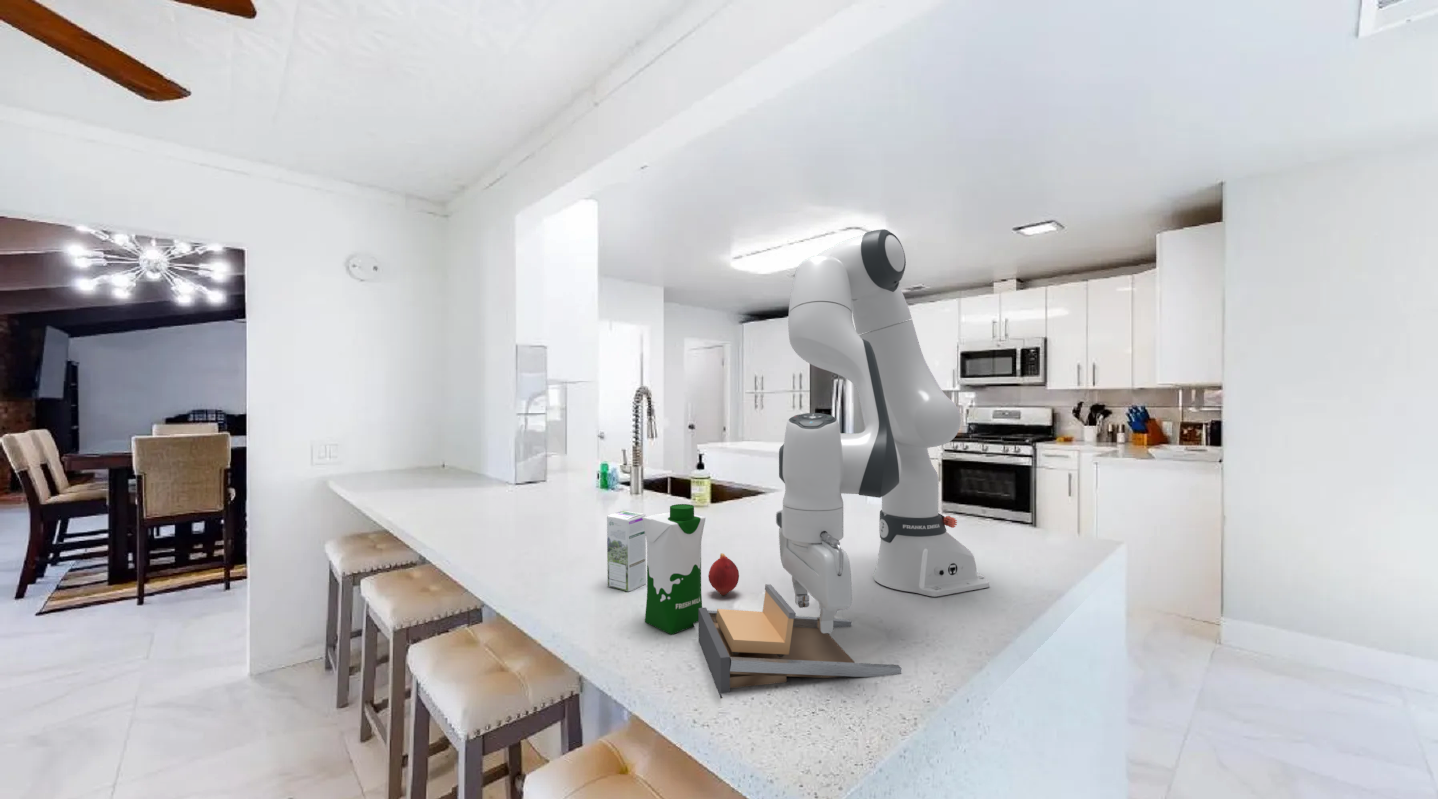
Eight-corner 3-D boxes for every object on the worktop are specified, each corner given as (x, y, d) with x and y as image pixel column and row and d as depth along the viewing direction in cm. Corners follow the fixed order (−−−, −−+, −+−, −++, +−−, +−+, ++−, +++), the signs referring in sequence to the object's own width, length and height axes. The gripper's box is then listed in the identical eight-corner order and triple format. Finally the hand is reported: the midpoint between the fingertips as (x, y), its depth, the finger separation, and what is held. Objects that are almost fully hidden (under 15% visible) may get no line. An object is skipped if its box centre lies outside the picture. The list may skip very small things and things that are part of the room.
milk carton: (670, 638, 90) (670, 512, 90) (636, 622, 97) (636, 504, 97) (711, 622, 97) (710, 504, 96) (676, 608, 103) (676, 497, 103)
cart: (770, 626, 89) (770, 583, 89) (795, 660, 78) (795, 612, 78) (715, 631, 87) (715, 587, 87) (732, 666, 76) (732, 617, 76)
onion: (739, 590, 112) (739, 549, 112) (737, 601, 107) (737, 558, 106) (710, 589, 113) (710, 548, 113) (706, 599, 107) (706, 557, 107)
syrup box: (647, 584, 116) (647, 512, 116) (627, 592, 111) (627, 518, 111) (625, 579, 119) (625, 509, 119) (605, 587, 114) (605, 514, 114)
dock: (848, 632, 95) (848, 596, 94) (901, 684, 78) (901, 640, 78) (698, 646, 90) (698, 608, 89) (720, 704, 73) (720, 657, 73)
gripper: (864, 541, 75) (864, 646, 75) (809, 509, 95) (809, 592, 95) (818, 544, 73) (818, 651, 74) (772, 511, 93) (772, 595, 94)
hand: (813, 617), depth 84 cm, fingers open, 8 cm apart
